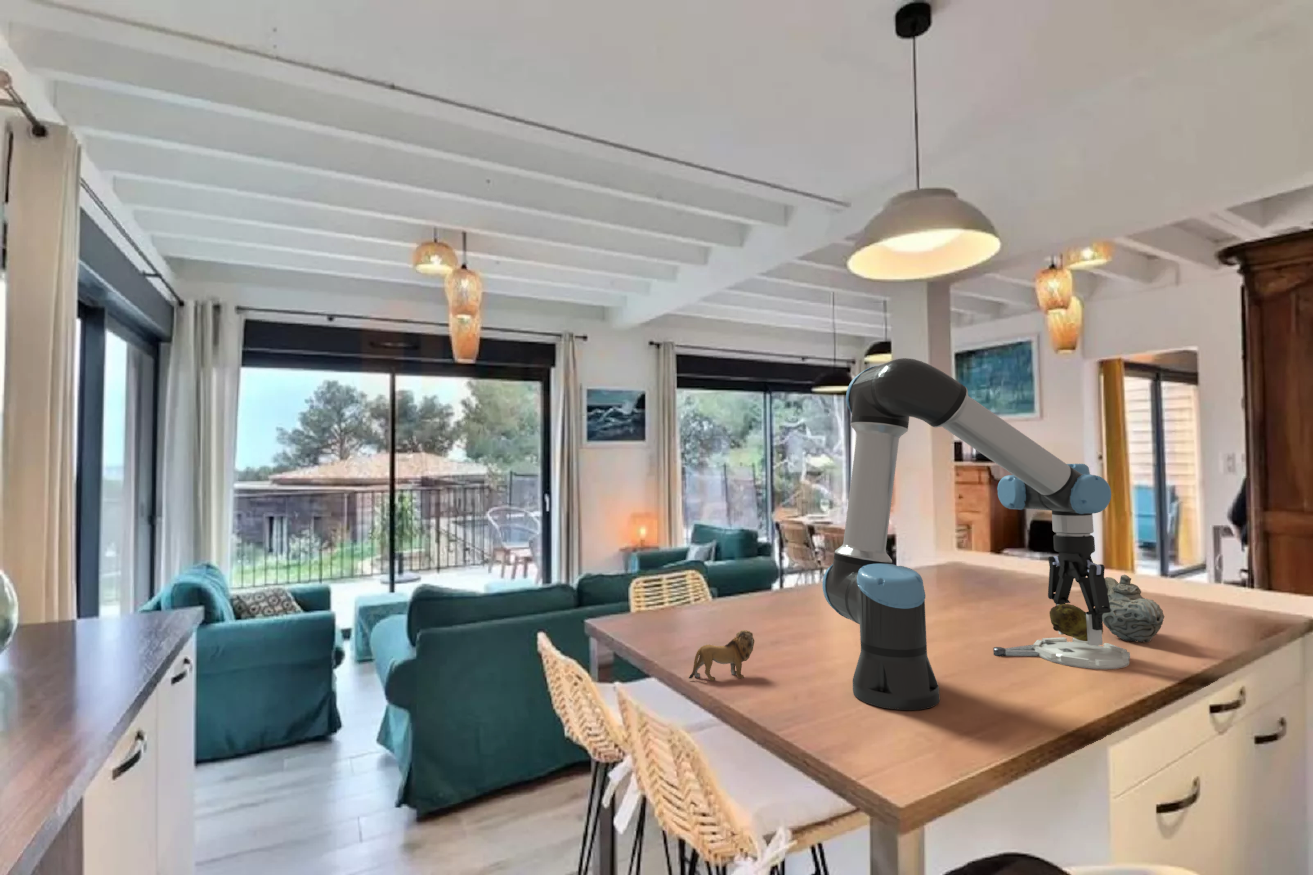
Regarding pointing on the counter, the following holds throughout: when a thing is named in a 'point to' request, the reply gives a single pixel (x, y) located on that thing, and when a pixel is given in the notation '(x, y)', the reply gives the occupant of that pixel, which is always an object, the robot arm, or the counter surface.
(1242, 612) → the counter surface
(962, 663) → the counter surface
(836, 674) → the counter surface
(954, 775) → the counter surface
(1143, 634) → the teapot
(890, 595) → the robot arm
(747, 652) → the lion figurine
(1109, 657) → the plate
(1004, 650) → the open tongs prop
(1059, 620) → the potato
